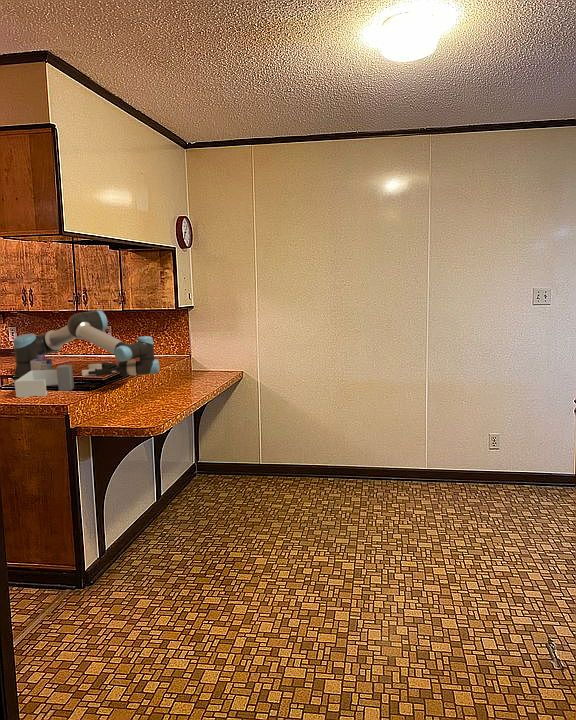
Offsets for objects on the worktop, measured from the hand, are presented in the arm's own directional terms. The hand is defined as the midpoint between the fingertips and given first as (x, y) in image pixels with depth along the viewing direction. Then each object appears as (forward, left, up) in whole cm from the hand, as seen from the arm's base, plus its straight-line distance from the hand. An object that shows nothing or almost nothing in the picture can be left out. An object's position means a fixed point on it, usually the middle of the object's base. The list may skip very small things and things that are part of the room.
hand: (85, 369), depth 316 cm
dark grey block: (0, -10, -10) cm, 14 cm away
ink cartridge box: (-20, -28, -10) cm, 36 cm away
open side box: (0, -24, -10) cm, 26 cm away
